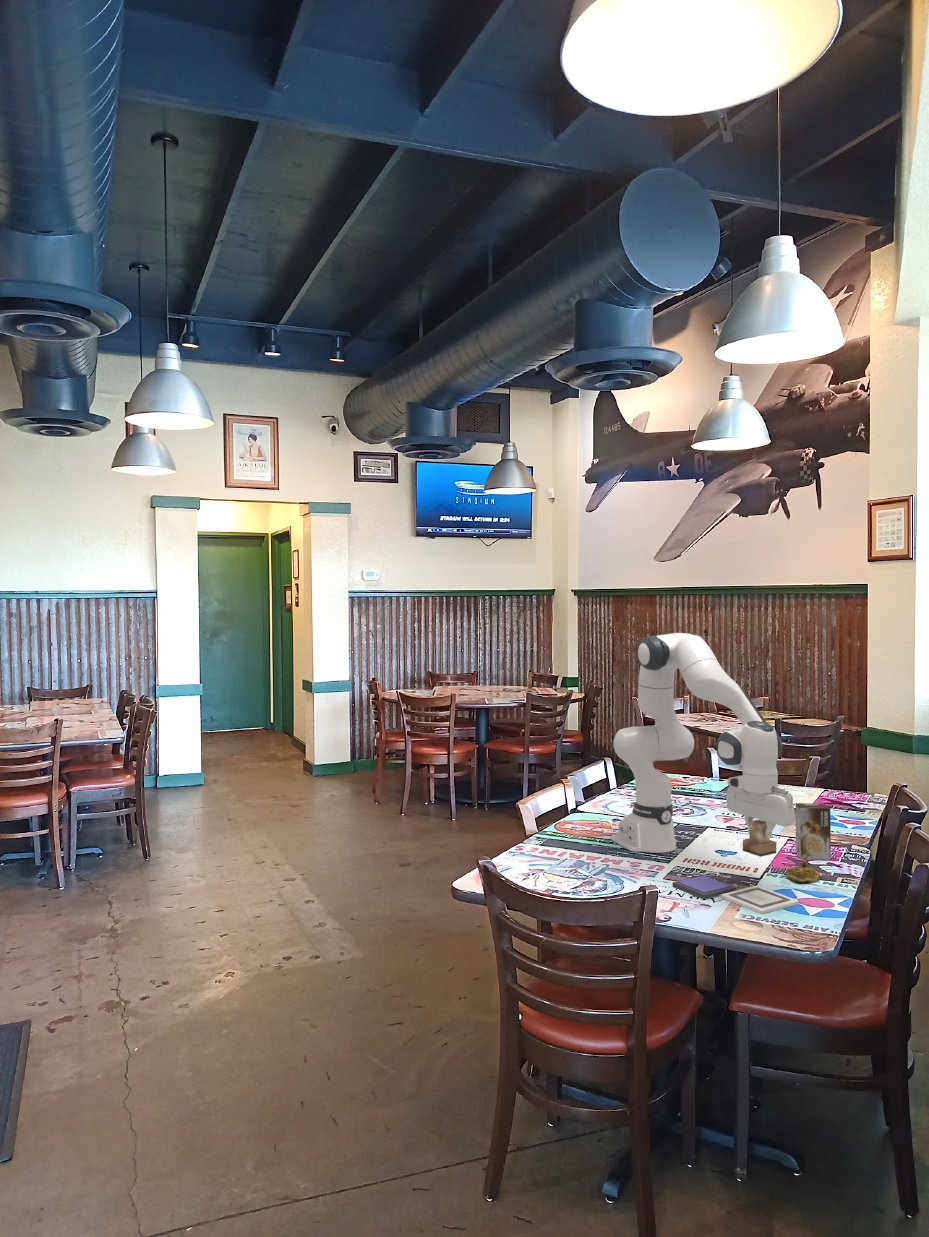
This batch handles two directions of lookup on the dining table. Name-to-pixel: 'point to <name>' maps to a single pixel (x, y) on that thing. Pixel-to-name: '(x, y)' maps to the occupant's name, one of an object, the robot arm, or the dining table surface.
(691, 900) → the dining table surface
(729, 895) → the board
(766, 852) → the stamp
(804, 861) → the seal
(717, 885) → the ink pad
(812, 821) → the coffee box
